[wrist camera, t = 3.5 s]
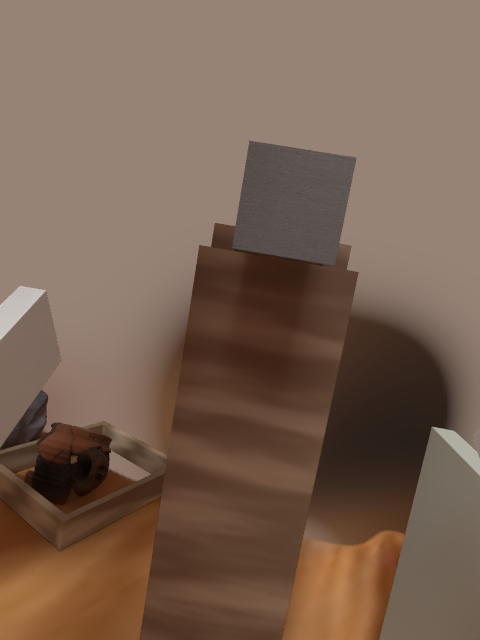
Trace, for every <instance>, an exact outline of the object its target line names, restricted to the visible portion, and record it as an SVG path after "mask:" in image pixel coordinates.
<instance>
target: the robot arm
mask: <svg viewBox="0 0 480 640" xmlns="http://www.w3.org/2000/svg"><path fill="white" fill-rule="evenodd" d="M60 362H61V355H60V351H59V346H58V342H57V338H56V333H55V328H54V324H53V319H52V315H51V310H50V306H49V301H48V297H47V292H46V290H40V289H35V288H29V287H23V286H20V287H19V288H18V289H16V291H14V292H13V293H12V294H11V295H10V296H9V297H8V298H7V299H6V300H5V301H4V302H3V303H2V304H1V305H0V447H1V446H2V445H3V443H4V442H5V440H6V439H7V437H8V436H9V435H10V433H11V432H12V430H13V429H14V427H15V426H16V425H17V423H18V422H19V420H20V419H21V418H22V416H23V415H24V413H25V412H26V410H27V409H28V408H29V406H30V405H31V403H32V402H33V400H34V399H35V398H36V396H37V395H38V393H39V392H40V390H41V389H42V388H43V386H44V385H45V383H46V382H47V381H48V379H49V378H50V376H51V375H52V373H53V372H54V371H55V369H56V368H57V366H58V365H59V363H60ZM472 438H473V441H474V444H475V446H476V449H477V452H478V455H479V458H480V428H479V429H478V430H477V431H476V433H475V434H474V435H473V437H472Z"/></svg>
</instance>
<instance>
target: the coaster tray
mask: <svg viewBox="0 0 480 640" xmlns="http://www.w3.org/2000/svg"><path fill="white" fill-rule="evenodd" d="M81 428H84V429H88V430H92V431H95V432H98V433H101V434H104V435H106V436H108V437H110V438H112V442H111V443H110V446H109V448H110V450H112V451H114V452H115V453H117V454H119V455H120V456H122V457H124V458H126V459H127V460H129V461H131V462H132V463H134V464H136V465H137V466H139V467H141V468H143V469H144V470H146V471H147V472H149V473H151V474H152V475H150V476H148V477H145V478H143V479H141V480H139V481H137V482H134V483H132V484H130V485H128V486H126V487H124V488H122V489H119V490H117V491H115V492H113V493H111V494H109V495H106V496H104V497H102V498H100V499H98V500H96V501H94V502H91V503H89V504H87V505H85V506H83V507H81V508H79V509H76V510H74V511H72V512H70V513H68V514H64V513H63V512H62V511H61V510H59V509H58V508H57V507H56V506H54V505H53V504H52V503H50V502H49V501H48V500H47V499H45V498H44V497H43V496H42V495H40V494H39V493H38V492H37V491H35V490H34V489H33V488H32V487H30V486H29V485H28V484H26V483H25V482H24V481H23V480H21V479H20V478H19V477H18V476H16V475H15V474H14V473H15V472H18V471H21V470H24V469H27V468H30V467H33V466H35V465H36V459H37V456H38V455H39V453H38V447H39V445H36V443H37V441H38V440H36V441H32V442H28V443H25V444H21V445H18V446H14V447H11V448H7V449H4V450H0V499H1V500H2V501H3V502H5V503H6V504H7V505H8V506H9V507H10V508H11V509H12V510H14V511H15V512H16V513H17V514H18V515H19V516H20V517H22V518H23V519H24V520H25V521H26V522H27V523H28V524H30V525H31V526H32V527H33V528H34V529H35V530H36V531H37V532H39V533H40V534H41V535H42V536H43V537H44V538H45V539H47V540H48V541H49V542H50V543H51V544H52V545H53V546H55V547H56V548H57V549H58V550H59V551H61V550H63V549H64V548H66V547H68V546H70V545H72V544H74V543H76V542H77V541H79V540H81V539H83V538H85V537H87V536H89V535H90V534H92V533H94V532H96V531H98V530H100V529H102V528H103V527H105V526H107V525H109V524H111V523H113V522H115V521H116V520H118V519H120V518H122V517H124V516H126V515H128V514H129V513H131V512H133V511H135V510H137V509H139V508H141V507H142V506H144V505H146V504H148V503H150V502H152V501H154V500H155V499H157V498H159V497H161V495H162V489H163V482H164V476H165V469H166V462H167V455H166V454H163V453H162V452H160V451H158V450H156V449H155V448H153V447H151V446H149V445H147V444H145V443H144V442H142V441H140V440H138V439H136V438H134V437H132V436H131V435H128V434H127V433H125V432H123V431H121V430H120V429H118V428H116V427H114V426H112V425H110V424H109V423H107V422H105V421H103V422H99V423H96V424H92V425H89V426H85V427H81ZM39 440H40V439H39Z"/></svg>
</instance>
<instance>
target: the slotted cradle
mask: <svg viewBox="0 0 480 640" xmlns="http://www.w3.org/2000/svg"><path fill="white" fill-rule="evenodd" d="M379 640H480V458H479V455H478V453H477V452H476V451H475V450H474V449H473V448H472V447H471V446H470V445H469V444H468V443H467V442H465V441H464V440H463V439H462V438H461V437H460V436H459V435H458V434H457V433H456V432H455V431H451V430H446V429H441V428H435V427H432V430H431V433H430V437H429V442H428V445H427V449H426V453H425V457H424V462H423V465H422V469H421V474H420V477H419V481H418V485H417V490H416V494H415V497H414V501H413V505H412V510H411V513H410V518H409V522H408V525H407V530H406V533H405V537H404V541H403V545H402V549H401V553H400V557H399V561H398V565H397V569H396V573H395V577H394V581H393V585H392V589H391V593H390V597H389V601H388V605H387V609H386V613H385V617H384V621H383V625H382V629H381V633H380V637H379Z"/></svg>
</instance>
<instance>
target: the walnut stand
mask: <svg viewBox="0 0 480 640" xmlns="http://www.w3.org/2000/svg"><path fill="white" fill-rule="evenodd" d="M235 227H236V226H229V225H224V224H218V223H215V226H214V233H213V239H212V245H211V247H207V246H201V245H200V246H199V251H198V258H197V265H196V271H195V278H194V284H193V291H192V298H191V304H190V311H189V318H188V324H187V331H186V337H185V344H184V351H183V357H182V364H181V370H180V377H179V384H178V390H177V397H176V403H175V410H174V416H173V424H172V430H171V436H170V443H169V449H168V456H167V462H166V469H165V476H164V482H163V489H162V495H161V502H160V509H159V515H158V522H157V528H156V535H155V542H154V548H153V555H152V561H151V568H150V575H149V581H148V588H147V594H146V601H145V608H144V614H143V621H142V627H141V634H140V640H281V639H282V635H283V630H284V625H285V620H286V616H287V611H288V606H289V601H290V596H291V592H292V587H293V582H294V577H295V573H296V568H297V563H298V558H299V554H300V549H301V544H302V539H303V535H304V530H305V525H306V520H307V516H308V511H309V506H310V501H311V496H312V492H313V487H314V482H315V477H316V473H317V468H318V463H319V458H320V454H321V448H322V444H323V439H324V435H325V430H326V425H327V420H328V415H329V410H330V406H331V401H332V396H333V392H334V387H335V382H336V377H337V373H338V368H339V363H340V358H341V353H342V349H343V344H344V339H345V334H346V330H347V325H348V320H349V315H350V311H351V306H352V301H353V296H354V292H355V287H356V281H357V277H358V272H354V271H348V270H346V269H347V265H348V260H349V255H350V250H351V246H349V245H344V244H339V247H338V252H337V257H336V262H335V266H333V265H318V264H307V263H301V262H295V261H290V260H284V259H278V258H272V257H266V256H260V255H254V254H248V253H245V252H242V251H239V250H236V249H233V248H232V245H233V239H234V233H235Z"/></svg>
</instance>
